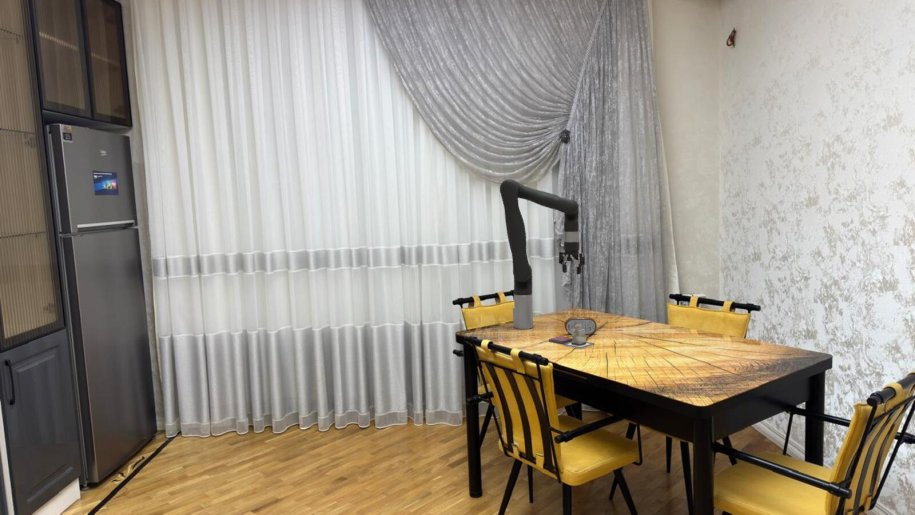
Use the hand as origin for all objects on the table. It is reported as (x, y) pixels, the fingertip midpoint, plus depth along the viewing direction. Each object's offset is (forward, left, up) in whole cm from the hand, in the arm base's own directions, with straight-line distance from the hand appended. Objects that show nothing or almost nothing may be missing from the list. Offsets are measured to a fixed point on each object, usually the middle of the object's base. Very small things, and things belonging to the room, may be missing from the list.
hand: (571, 273), depth 299 cm
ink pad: (+11, -23, -28) cm, 38 cm away
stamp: (+21, -23, -28) cm, 42 cm away
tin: (+10, -7, -28) cm, 31 cm away
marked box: (+21, -23, -28) cm, 42 cm away
